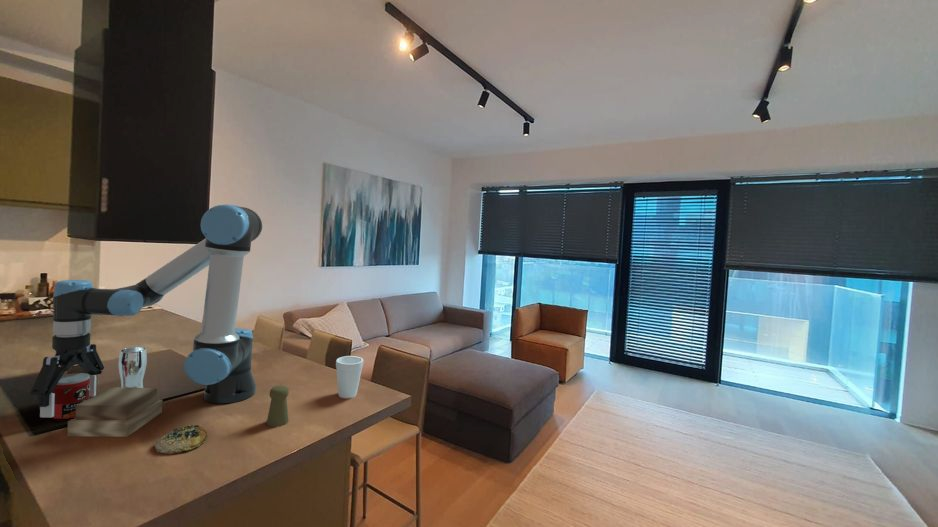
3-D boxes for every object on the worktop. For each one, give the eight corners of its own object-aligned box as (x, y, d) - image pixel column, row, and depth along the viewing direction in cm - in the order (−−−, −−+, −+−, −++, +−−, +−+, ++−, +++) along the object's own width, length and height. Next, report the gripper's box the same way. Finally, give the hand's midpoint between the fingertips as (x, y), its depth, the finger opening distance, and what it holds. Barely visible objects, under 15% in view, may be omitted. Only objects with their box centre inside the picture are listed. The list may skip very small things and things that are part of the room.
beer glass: (117, 399, 120) (118, 353, 119) (118, 392, 125) (119, 347, 124) (145, 395, 124) (147, 351, 123) (145, 387, 129) (147, 345, 129)
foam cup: (364, 391, 142) (367, 357, 141) (355, 401, 132) (357, 365, 132) (340, 388, 142) (343, 354, 142) (329, 398, 133) (331, 362, 133)
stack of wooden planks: (162, 412, 114) (163, 386, 114) (127, 436, 100) (127, 407, 100) (110, 411, 112) (111, 385, 112) (67, 436, 98) (68, 406, 98)
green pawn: (293, 420, 116) (295, 385, 115) (277, 428, 110) (279, 392, 110) (278, 415, 118) (279, 381, 117) (261, 423, 112) (263, 388, 112)
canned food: (64, 423, 104) (64, 384, 104) (42, 418, 106) (43, 380, 105) (96, 411, 112) (97, 375, 111) (75, 406, 113) (76, 371, 113)
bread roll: (200, 428, 107) (200, 412, 106) (212, 449, 100) (213, 432, 100) (150, 443, 99) (150, 426, 98) (160, 467, 92) (160, 449, 91)
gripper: (94, 323, 119) (92, 388, 120) (10, 345, 95) (8, 427, 96) (120, 324, 120) (118, 388, 122) (44, 347, 96) (42, 427, 97)
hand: (69, 405), depth 109 cm, fingers open, 13 cm apart
